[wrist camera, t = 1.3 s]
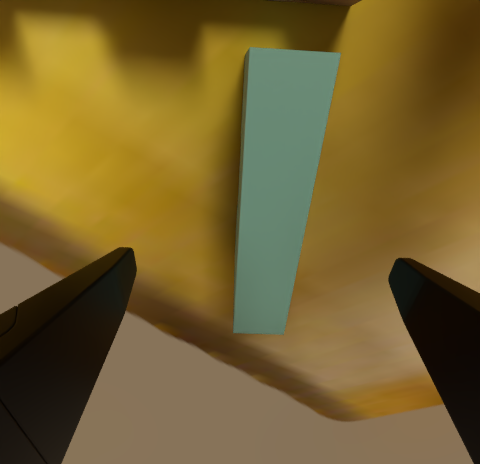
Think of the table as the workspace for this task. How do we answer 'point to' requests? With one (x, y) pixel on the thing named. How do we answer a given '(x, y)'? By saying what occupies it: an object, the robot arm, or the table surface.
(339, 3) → the walnut rail
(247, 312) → the teal plate
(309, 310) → the table surface
